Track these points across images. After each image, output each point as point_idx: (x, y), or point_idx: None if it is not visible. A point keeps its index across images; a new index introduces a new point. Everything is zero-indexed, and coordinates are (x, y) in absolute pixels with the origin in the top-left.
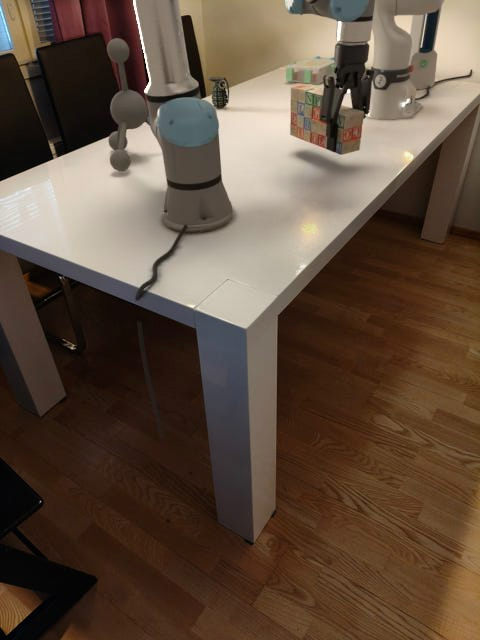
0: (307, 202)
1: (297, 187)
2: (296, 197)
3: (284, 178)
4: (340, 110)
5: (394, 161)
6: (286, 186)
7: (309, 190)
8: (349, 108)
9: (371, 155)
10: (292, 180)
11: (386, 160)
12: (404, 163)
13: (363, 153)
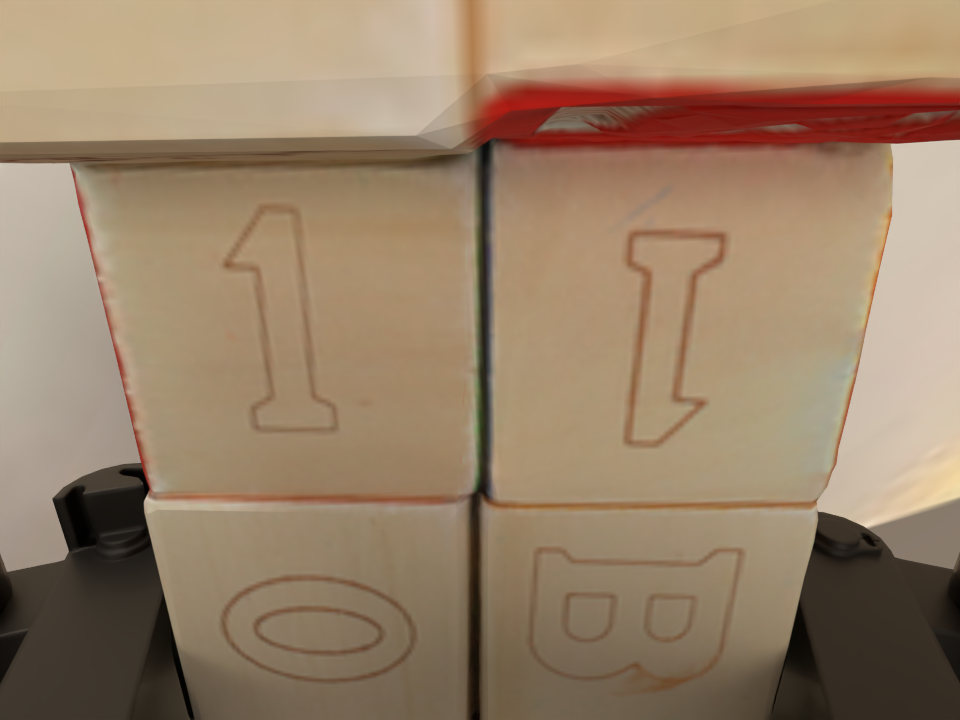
0: (40, 556)
1: (68, 376)
2: (6, 480)
3: (42, 189)
4: (415, 653)
5: (895, 438)
6: (4, 319)
7: (119, 453)
8: (700, 659)
9: (907, 244)
10: (83, 260)
11: (878, 392)
12: (901, 499)
13: (910, 161)
